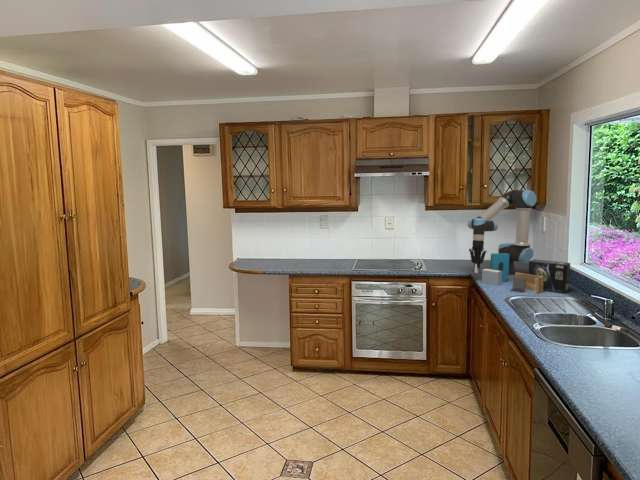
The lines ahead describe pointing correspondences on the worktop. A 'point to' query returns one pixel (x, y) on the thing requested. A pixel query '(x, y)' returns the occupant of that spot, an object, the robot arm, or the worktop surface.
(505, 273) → the block
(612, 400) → the worktop surface
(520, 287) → the bookend
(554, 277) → the box
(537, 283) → the wooden stepped piece
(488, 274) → the book
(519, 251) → the robot arm
